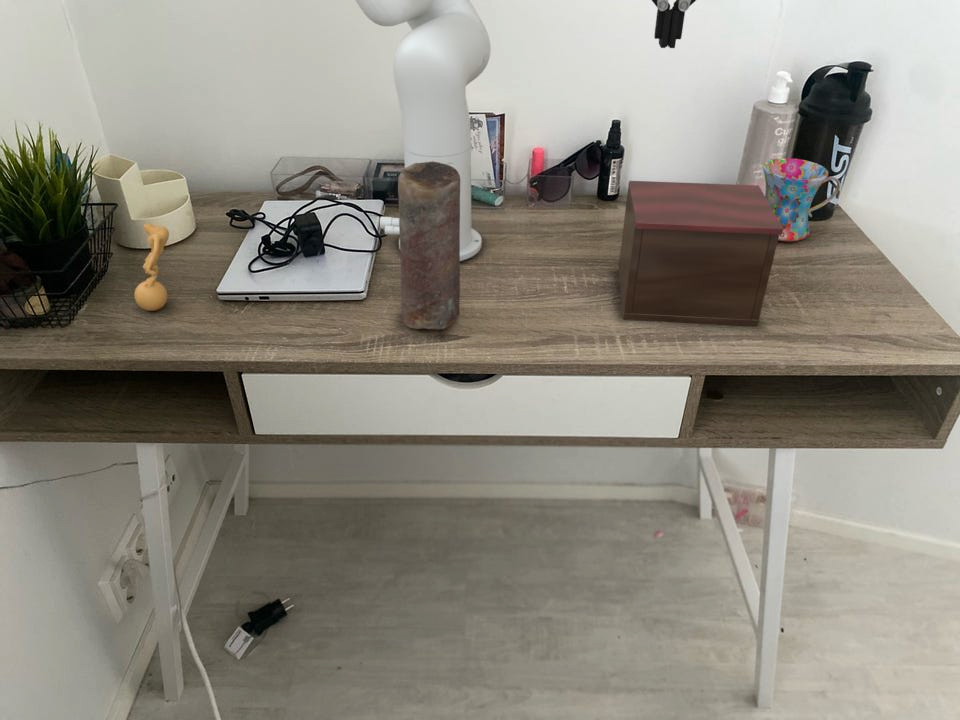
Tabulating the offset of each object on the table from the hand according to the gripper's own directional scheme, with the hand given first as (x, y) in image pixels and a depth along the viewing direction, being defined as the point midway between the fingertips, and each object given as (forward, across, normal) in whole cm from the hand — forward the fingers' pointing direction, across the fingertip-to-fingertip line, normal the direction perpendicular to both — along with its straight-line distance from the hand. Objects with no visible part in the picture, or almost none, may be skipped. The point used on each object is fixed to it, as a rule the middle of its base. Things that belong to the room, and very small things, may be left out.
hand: (666, 45), depth 90 cm
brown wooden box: (+31, +6, -6) cm, 32 cm away
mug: (+31, +25, +17) cm, 44 cm away
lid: (+18, +6, -6) cm, 20 cm away
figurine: (+31, -63, -15) cm, 72 cm away
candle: (+31, -27, -15) cm, 44 cm away
